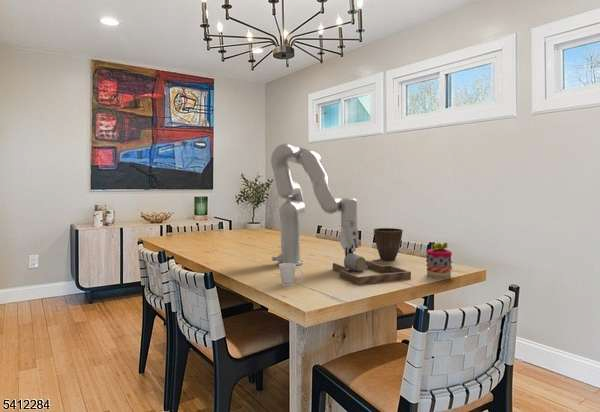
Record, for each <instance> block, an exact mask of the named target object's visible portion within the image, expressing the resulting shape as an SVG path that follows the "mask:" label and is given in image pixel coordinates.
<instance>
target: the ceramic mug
mask: <svg viewBox="0 0 600 412" xmlns="http://www.w3.org/2000/svg"><path fill="white" fill-rule="evenodd" d="M366 261H367V260H366V258H365V257H363V256H362V255H359V254H355V253H354V252H353V253H349V254H347V255H346V256H344V260H343V264H344V266H343V267H346V268H348V269H351V271H354V272H359V273H360V272H363V271H364V270H367V269H369V268H368V266H367V265H366Z"/></svg>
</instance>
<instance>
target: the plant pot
mask: <svg viewBox="0 0 600 412" xmlns="http://www.w3.org/2000/svg"><path fill="white" fill-rule="evenodd" d="M373 234H374V240H375V245H376V249H377V252H378V255H379V258H380V260H381V261H384V262H385V261H386V262H393V261H395V260H396V258H397V256H398V253H399V250H400V246H401V243H402V237H403V229H402V228H395V227H393V228H392V227H391V228H389V227H385V228H384V227H382V228H374V229H373Z"/></svg>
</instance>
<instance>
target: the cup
mask: <svg viewBox="0 0 600 412" xmlns="http://www.w3.org/2000/svg"><path fill="white" fill-rule="evenodd" d="M278 267H279V273H280V279H281V281H282V286H285V287H290V286H295V285H298V284H299V283H301V282H302V280H303V279H304V272H303V269H302V268H301V267H297V265H296V264H294V263H282V264H278ZM296 270H299V271H301V279H300V280H298V281H297V282H295V283H294V280H295V274H296Z"/></svg>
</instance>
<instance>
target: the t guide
mask: <svg viewBox="0 0 600 412" xmlns="http://www.w3.org/2000/svg"><path fill="white" fill-rule="evenodd" d="M366 265H367V266H368V268H367V269H369V270H372V271H374V272H378V273H381V274H372V275H362V276H359V275H355V274H353V273H351V271H352V270H351V269H348V268H346V267H345V266H343V265H340V264H338V263H336V262H334V263H332V271H334V272H338V274H339V278H341V279H344V280H345V281H348V282H350V283H352V284H354V285H357V286H362V285H369V284H377V283H378V284H379V283H386V282H394V281H395V282H396V281H403V280H411V278H412V277H411V276H412V271H410V270H407V269H403V268H400V267H397V266H394V265H391V264H388V265H387V264H385V265H381V264H378V263H375V262H371V261H368V260H366Z"/></svg>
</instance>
